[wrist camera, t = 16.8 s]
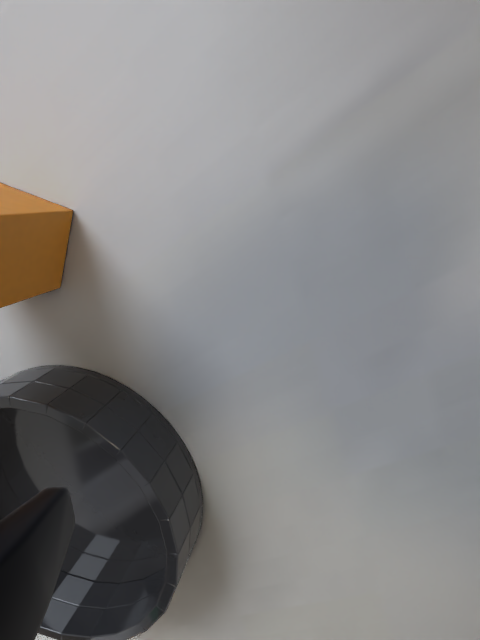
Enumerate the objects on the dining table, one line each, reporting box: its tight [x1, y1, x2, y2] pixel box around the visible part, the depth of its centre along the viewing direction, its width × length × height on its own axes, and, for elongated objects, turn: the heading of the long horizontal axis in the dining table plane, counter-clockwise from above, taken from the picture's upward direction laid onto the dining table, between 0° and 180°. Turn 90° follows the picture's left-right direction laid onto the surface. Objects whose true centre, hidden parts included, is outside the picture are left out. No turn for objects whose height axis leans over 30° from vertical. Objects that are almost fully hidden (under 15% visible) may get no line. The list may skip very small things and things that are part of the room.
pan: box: [0, 366, 202, 640], centre depth 23 cm, size 15×15×4 cm
